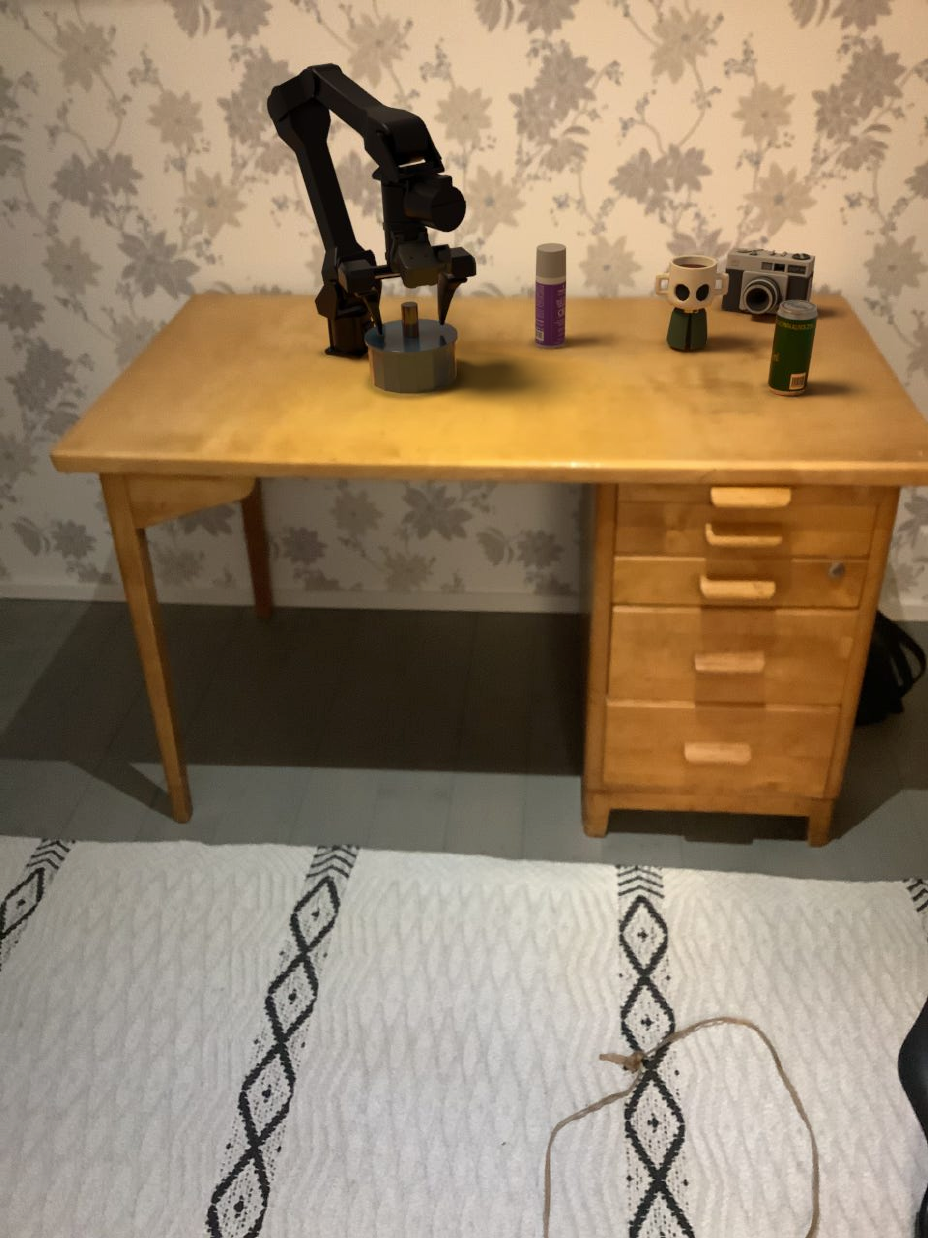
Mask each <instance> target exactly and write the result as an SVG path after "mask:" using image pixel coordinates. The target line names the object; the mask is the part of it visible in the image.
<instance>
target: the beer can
mask: <svg viewBox="0 0 928 1238" xmlns="http://www.w3.org/2000/svg"><path fill="white" fill-rule="evenodd" d="M817 310H818V306H817V304H816V303H814V302H812V301H804V300H789V301H784V302H782V303H781V304H780V308H779V309H778V311H777V317H775V326H774V332H773V341H772V347H771V355H770V364H769V370H768V378H767V386H768V389H769V391H770V392H772V393H773V394H775V395H779V396H785V397H795V396H799V395H801V394H803V393H804V392H805V390H806V388H807V386H808V380H809V374H810V368H811V362H812V354H813V348H814V343H815V342H814V341H815V334H816V330H817V329H816V328H817V322H818V316H819V314H818V311H817Z"/></svg>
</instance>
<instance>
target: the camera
mask: <svg viewBox="0 0 928 1238" xmlns="http://www.w3.org/2000/svg"><path fill="white" fill-rule="evenodd" d="M726 255H727V256H726V263H725V271H724V273H726V274H728V275H729V284H728V292H727V294H726V295H722V299H721V310H722V311H727V312H734V313H735V312H736V313H743V314H750V315H756V316H766V317H771V318H772V317H774V318H776V317H777V311H778V309H779V308H780V304H781V303H782V302H784V301H789V300H804V301H809V302H811V296H812V290H813V280H814V274H815V262H816V255H814V254H813V255H811V254H808V253H805V252H801V253H799V252H797V253H796V252H795V253H792V252H788V251H786V250H785V251H783V252H782V253H780V252H776V250H775V249H774V250H768V249H764V248H759V247H754V248H753V247H747V248H745V247H733V248H731V249H730V250H729V251H728V252H727V254H726Z"/></svg>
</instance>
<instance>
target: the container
mask: <svg viewBox="0 0 928 1238" xmlns="http://www.w3.org/2000/svg"><path fill="white" fill-rule="evenodd" d="M535 255H536V256H535V259H536V260H535V280H534V281H535V283H534V284H535V287H534V288H535V289H534V290H535V295H534V296H535V297H534V300H535V302H534V303H535V305H534V308H535V309H534V311H535V312H534V313H535V314H534V320H535V321H534V326H535V327H534V344H535V346H536V347H538V348H540V349H545V350H554V349H559V348H560V349H561V348H562V347H564V346H565V344H566V309H567V307H566V305H567V246H566V245H565V244H562V243H557V242H546V243H541V244H538V245H537V246H536V253H535Z"/></svg>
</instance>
